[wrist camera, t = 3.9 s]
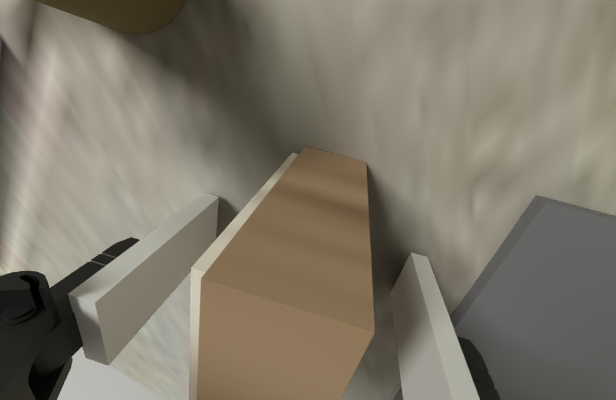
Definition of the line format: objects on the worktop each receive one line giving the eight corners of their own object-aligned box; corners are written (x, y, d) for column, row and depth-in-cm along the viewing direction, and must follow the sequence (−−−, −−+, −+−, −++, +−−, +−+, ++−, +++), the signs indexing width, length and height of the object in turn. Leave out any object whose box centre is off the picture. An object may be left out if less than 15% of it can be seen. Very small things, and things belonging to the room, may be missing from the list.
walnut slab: (296, 143, 11) (175, 270, 4) (366, 162, 11) (375, 332, 4) (265, 294, 15) (180, 490, 8) (316, 310, 15) (274, 525, 8)
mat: (536, 195, 10) (546, 202, 10) (946, 304, 9) (982, 318, 9) (388, 407, 17) (389, 417, 17) (608, 479, 16) (616, 493, 16)
